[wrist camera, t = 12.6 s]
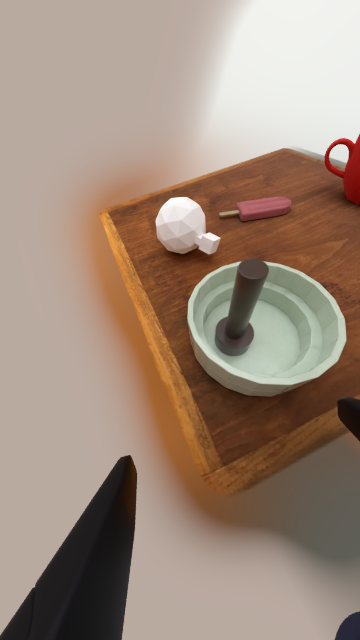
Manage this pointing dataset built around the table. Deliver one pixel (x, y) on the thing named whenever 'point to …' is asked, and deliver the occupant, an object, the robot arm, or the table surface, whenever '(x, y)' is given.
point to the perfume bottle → (184, 227)
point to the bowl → (268, 331)
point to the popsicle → (260, 208)
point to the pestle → (241, 308)
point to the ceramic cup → (348, 169)
